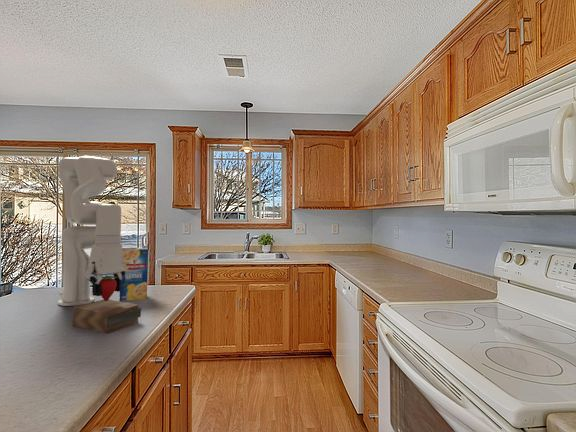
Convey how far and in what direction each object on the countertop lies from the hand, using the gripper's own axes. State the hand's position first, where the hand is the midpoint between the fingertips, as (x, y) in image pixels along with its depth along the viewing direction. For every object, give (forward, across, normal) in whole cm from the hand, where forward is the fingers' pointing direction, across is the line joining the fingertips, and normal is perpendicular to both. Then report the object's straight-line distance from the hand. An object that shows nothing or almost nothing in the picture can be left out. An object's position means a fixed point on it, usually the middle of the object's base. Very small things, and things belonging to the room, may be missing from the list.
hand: (106, 292), depth 110 cm
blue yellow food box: (+11, -29, -20) cm, 37 cm away
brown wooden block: (+10, 0, 0) cm, 10 cm away
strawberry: (+3, 0, 0) cm, 3 cm away
